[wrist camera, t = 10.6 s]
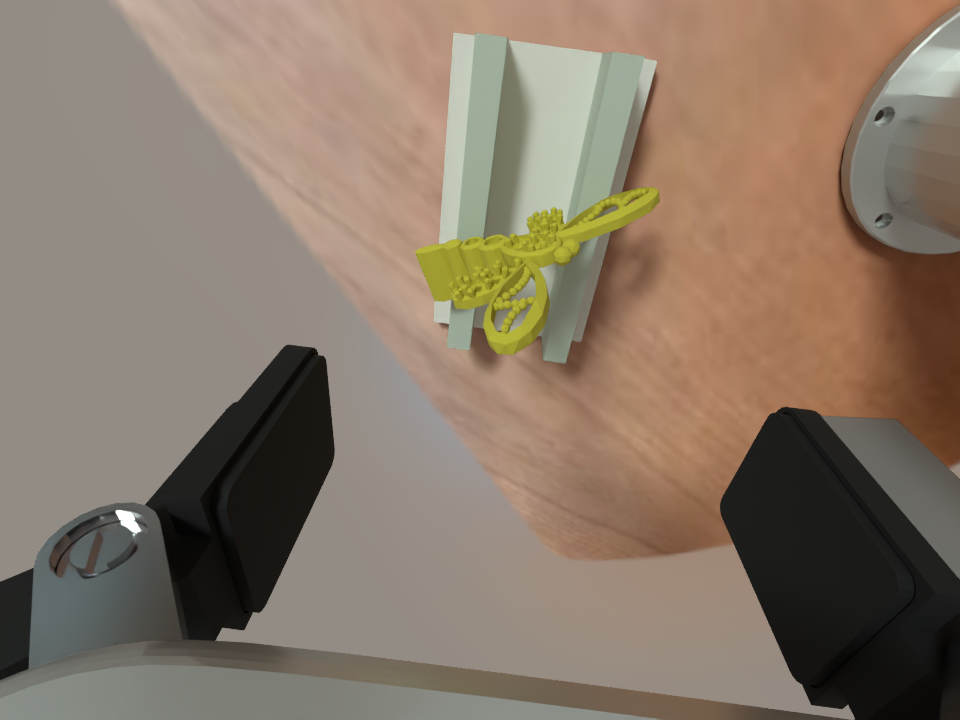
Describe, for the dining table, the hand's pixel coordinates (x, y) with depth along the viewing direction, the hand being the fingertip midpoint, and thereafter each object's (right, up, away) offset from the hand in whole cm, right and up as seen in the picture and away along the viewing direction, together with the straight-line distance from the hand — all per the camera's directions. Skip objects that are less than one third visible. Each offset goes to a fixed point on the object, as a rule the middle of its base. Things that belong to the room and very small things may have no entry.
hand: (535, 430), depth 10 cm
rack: (+2, +10, +18) cm, 21 cm away
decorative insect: (+1, +8, +15) cm, 18 cm away
